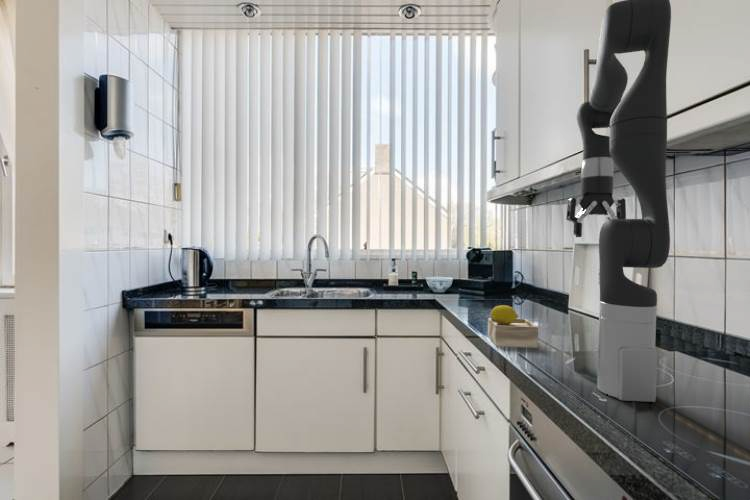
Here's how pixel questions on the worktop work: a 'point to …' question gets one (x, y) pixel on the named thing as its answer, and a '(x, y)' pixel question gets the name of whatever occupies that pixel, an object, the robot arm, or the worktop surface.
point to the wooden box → (513, 333)
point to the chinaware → (439, 283)
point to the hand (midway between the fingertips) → (595, 237)
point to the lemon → (503, 314)
